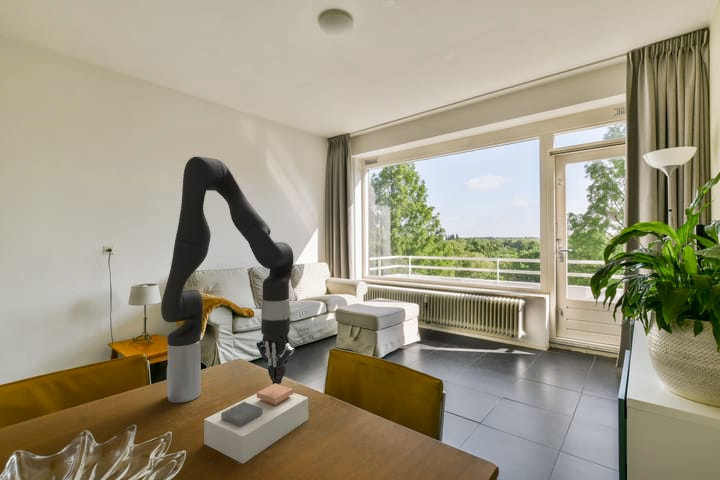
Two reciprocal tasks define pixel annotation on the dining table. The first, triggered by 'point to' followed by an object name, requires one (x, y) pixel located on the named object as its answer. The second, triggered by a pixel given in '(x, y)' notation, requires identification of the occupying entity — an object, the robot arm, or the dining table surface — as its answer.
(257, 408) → the graphite plunger
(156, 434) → the dining table surface
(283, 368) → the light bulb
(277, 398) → the terracotta plunger
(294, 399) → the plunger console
